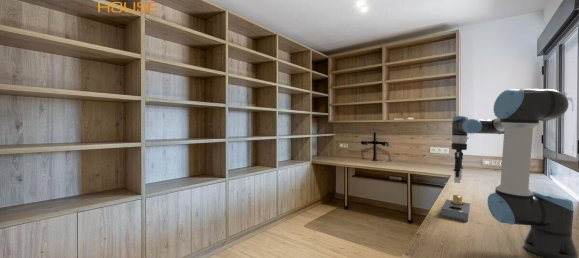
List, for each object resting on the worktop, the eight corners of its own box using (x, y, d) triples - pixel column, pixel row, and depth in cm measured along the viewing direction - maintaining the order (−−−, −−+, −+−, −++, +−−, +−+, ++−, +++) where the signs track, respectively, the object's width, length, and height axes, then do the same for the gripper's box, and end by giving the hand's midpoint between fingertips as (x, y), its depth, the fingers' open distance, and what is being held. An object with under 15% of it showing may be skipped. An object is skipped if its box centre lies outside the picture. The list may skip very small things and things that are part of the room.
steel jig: (467, 221, 134) (468, 213, 134) (441, 216, 142) (441, 208, 142) (469, 211, 152) (470, 203, 152) (446, 206, 159) (446, 199, 159)
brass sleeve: (459, 213, 148) (460, 197, 148) (451, 210, 151) (451, 195, 151) (462, 211, 150) (463, 196, 150) (454, 209, 154) (455, 194, 154)
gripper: (465, 144, 139) (464, 185, 140) (468, 142, 157) (466, 179, 157) (449, 143, 144) (448, 183, 144) (453, 141, 161) (452, 177, 162)
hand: (457, 181), depth 151 cm, fingers open, 10 cm apart
